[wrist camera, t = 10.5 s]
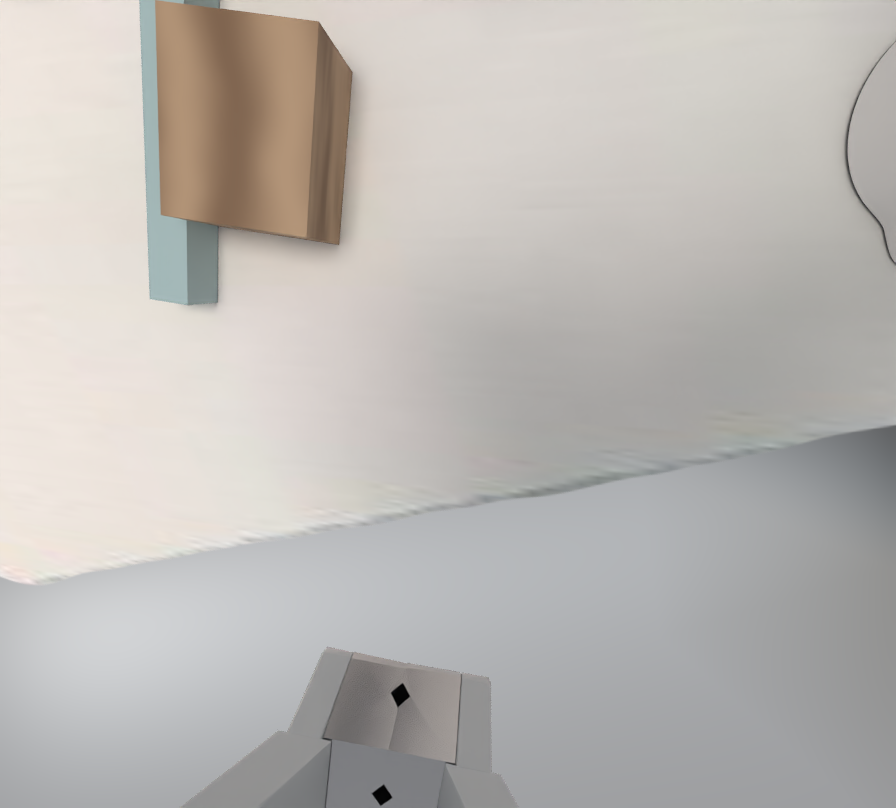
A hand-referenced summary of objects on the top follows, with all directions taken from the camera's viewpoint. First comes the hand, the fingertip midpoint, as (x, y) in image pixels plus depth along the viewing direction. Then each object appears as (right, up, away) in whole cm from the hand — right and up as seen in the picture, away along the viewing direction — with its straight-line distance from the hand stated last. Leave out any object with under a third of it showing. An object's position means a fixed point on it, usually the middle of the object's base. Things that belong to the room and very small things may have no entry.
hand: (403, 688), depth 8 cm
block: (-12, +24, +27) cm, 38 cm away
